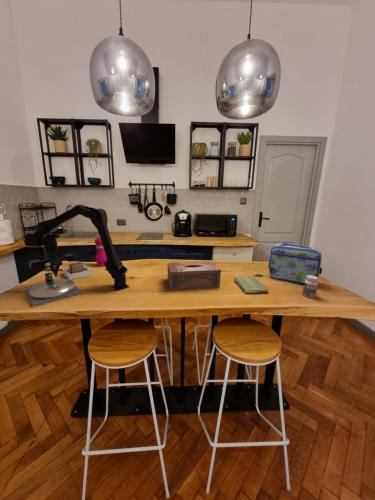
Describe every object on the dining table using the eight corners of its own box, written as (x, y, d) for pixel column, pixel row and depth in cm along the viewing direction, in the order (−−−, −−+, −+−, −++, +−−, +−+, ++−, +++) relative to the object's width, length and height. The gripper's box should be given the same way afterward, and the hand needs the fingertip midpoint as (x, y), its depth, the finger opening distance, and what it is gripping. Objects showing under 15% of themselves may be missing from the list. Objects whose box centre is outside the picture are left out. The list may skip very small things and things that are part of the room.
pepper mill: (103, 267, 134) (101, 236, 129) (93, 266, 136) (90, 236, 130) (109, 264, 141) (107, 234, 136) (100, 263, 142) (97, 233, 137)
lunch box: (265, 277, 126) (270, 243, 120) (269, 272, 134) (274, 240, 129) (316, 288, 112) (323, 250, 106) (317, 282, 121) (324, 246, 115)
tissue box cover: (170, 290, 106) (170, 272, 103) (167, 279, 119) (167, 262, 117) (219, 287, 111) (220, 269, 108) (211, 277, 124) (212, 261, 122)
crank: (79, 291, 99) (78, 279, 98) (32, 303, 88) (30, 290, 86) (69, 279, 112) (67, 268, 111) (27, 288, 101) (25, 276, 99)
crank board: (81, 293, 100) (81, 290, 100) (33, 307, 87) (32, 304, 87) (69, 281, 113) (69, 278, 113) (25, 291, 100) (25, 288, 100)
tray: (92, 275, 122) (91, 270, 121) (69, 280, 114) (68, 275, 113) (84, 269, 130) (84, 264, 129) (63, 274, 122) (62, 269, 121)
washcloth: (245, 295, 103) (246, 289, 102) (232, 281, 120) (232, 275, 119) (270, 294, 106) (271, 288, 105) (253, 280, 122) (254, 274, 121)
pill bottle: (303, 291, 108) (307, 273, 105) (316, 295, 104) (320, 276, 102) (301, 295, 104) (304, 277, 101) (314, 299, 100) (318, 280, 98)
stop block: (84, 274, 122) (83, 264, 120) (73, 276, 118) (72, 266, 116) (81, 271, 126) (80, 261, 124) (70, 273, 122) (68, 263, 120)
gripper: (29, 254, 91) (36, 287, 95) (76, 246, 103) (81, 276, 107) (26, 249, 98) (32, 280, 103) (70, 242, 111) (74, 270, 115)
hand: (56, 276), depth 107 cm, fingers closed
